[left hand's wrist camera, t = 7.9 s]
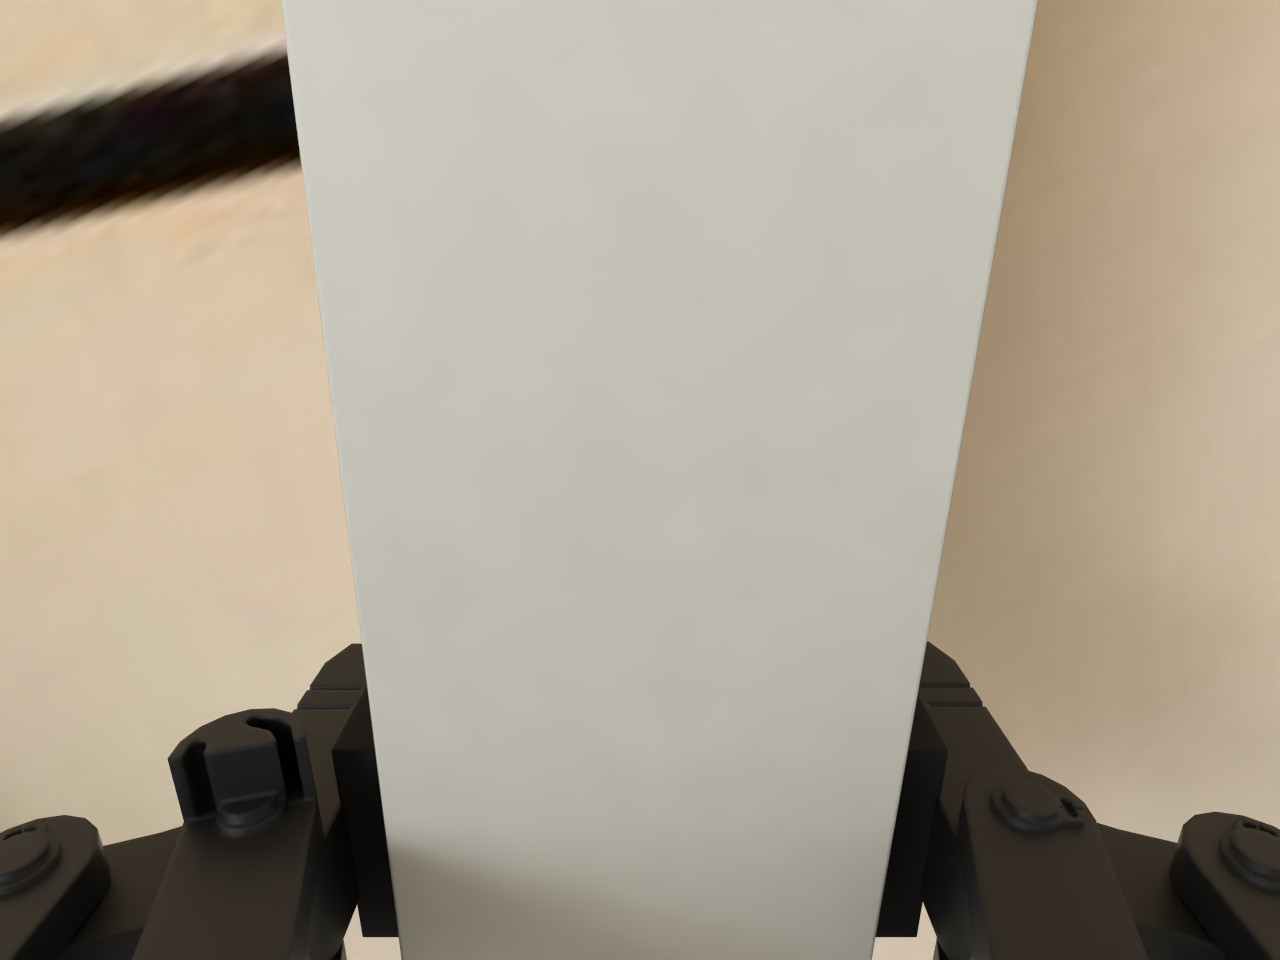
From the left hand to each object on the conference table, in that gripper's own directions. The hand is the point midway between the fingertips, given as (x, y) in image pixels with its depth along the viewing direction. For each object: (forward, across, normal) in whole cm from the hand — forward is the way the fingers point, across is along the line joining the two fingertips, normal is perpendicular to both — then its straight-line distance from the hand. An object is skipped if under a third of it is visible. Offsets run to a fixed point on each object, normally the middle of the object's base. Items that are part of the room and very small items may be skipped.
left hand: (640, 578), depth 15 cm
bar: (0, -1, -32) cm, 32 cm away
